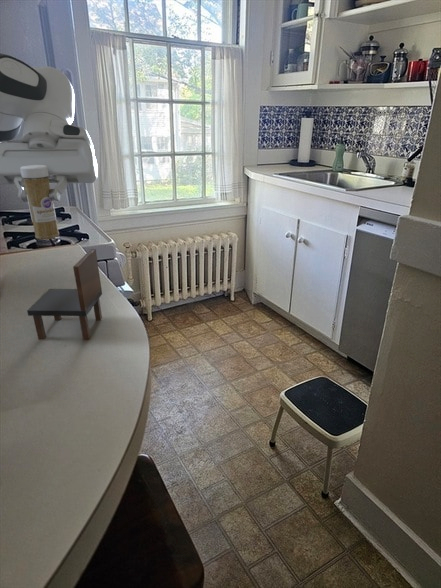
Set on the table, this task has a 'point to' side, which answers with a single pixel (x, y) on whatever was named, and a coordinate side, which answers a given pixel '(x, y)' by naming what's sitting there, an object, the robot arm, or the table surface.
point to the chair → (72, 297)
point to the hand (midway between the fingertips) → (39, 199)
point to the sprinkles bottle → (40, 201)
